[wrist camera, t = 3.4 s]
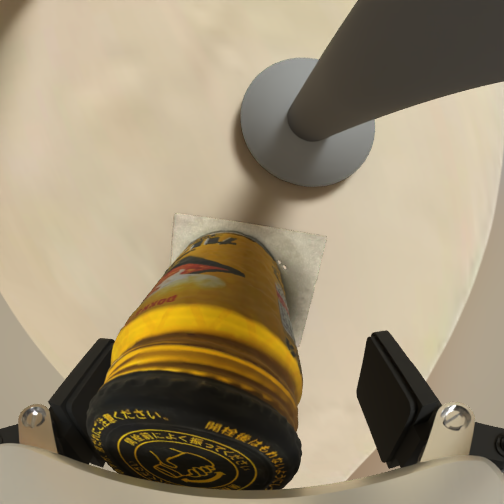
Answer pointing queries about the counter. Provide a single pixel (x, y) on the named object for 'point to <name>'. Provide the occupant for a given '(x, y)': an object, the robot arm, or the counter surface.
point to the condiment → (212, 361)
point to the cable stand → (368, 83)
